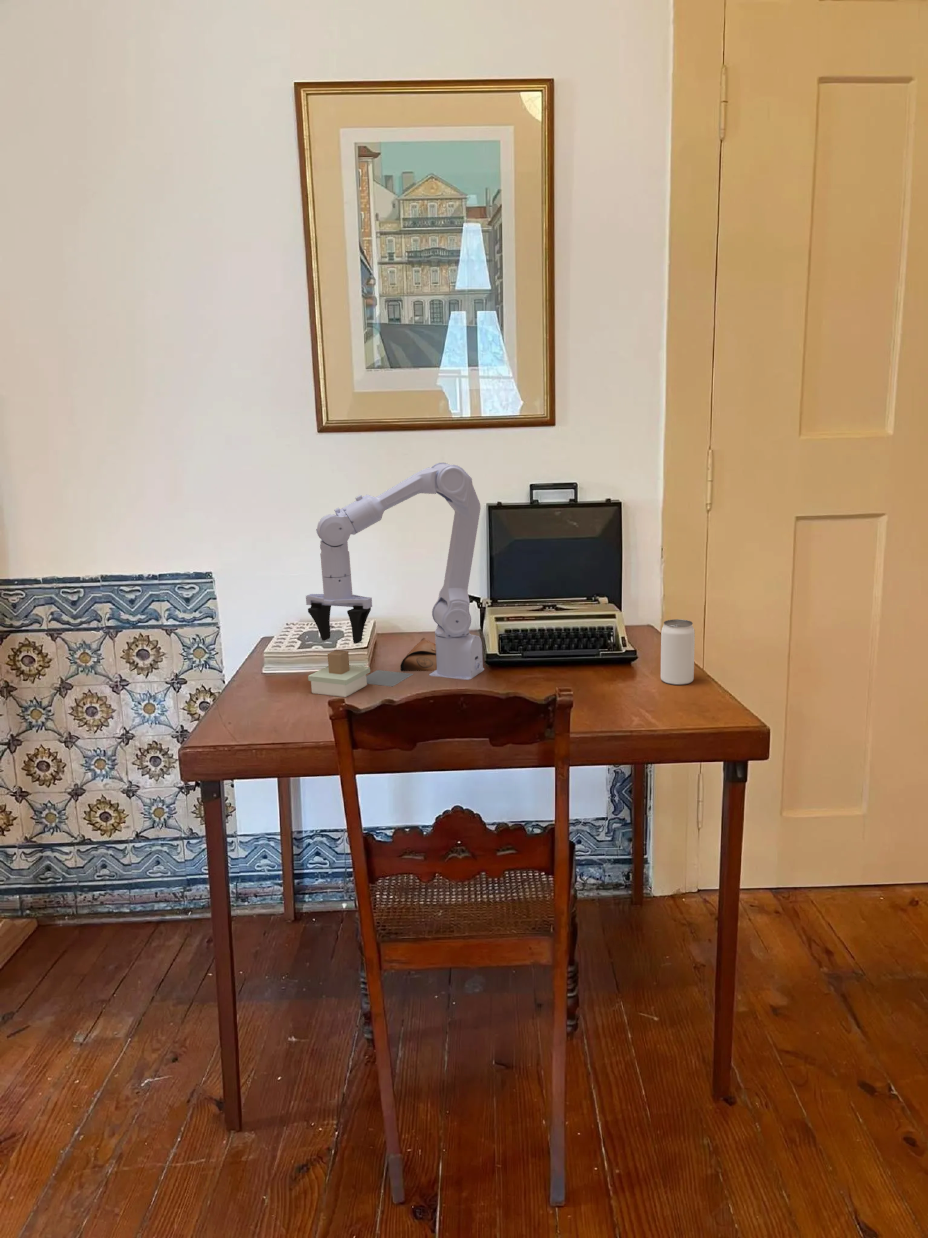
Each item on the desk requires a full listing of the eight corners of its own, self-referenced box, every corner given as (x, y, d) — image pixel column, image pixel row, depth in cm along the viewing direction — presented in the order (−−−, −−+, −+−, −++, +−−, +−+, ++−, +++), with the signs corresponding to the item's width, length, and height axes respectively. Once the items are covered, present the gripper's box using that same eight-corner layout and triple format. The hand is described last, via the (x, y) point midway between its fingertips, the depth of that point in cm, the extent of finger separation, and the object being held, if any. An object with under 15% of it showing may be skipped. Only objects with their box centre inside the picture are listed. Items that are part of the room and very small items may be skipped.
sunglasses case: (439, 673, 186) (422, 647, 185) (412, 688, 188) (395, 663, 187) (454, 650, 203) (439, 626, 203) (430, 665, 205) (414, 641, 205)
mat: (413, 675, 185) (413, 673, 185) (392, 688, 178) (392, 686, 177) (377, 671, 189) (377, 670, 189) (355, 683, 181) (355, 682, 181)
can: (696, 677, 177) (697, 620, 174) (690, 686, 171) (691, 627, 168) (664, 674, 179) (665, 617, 177) (657, 683, 174) (658, 625, 171)
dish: (367, 687, 179) (366, 673, 178) (345, 699, 172) (344, 684, 171) (334, 683, 182) (333, 669, 182) (312, 694, 175) (310, 680, 175)
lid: (370, 672, 179) (368, 648, 178) (346, 685, 171) (344, 660, 170) (333, 668, 183) (331, 645, 181) (308, 680, 175) (306, 656, 174)
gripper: (294, 577, 174) (300, 643, 177) (356, 580, 168) (361, 648, 171) (315, 570, 180) (320, 634, 183) (375, 573, 174) (380, 639, 177)
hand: (341, 640), depth 178 cm, fingers open, 7 cm apart
